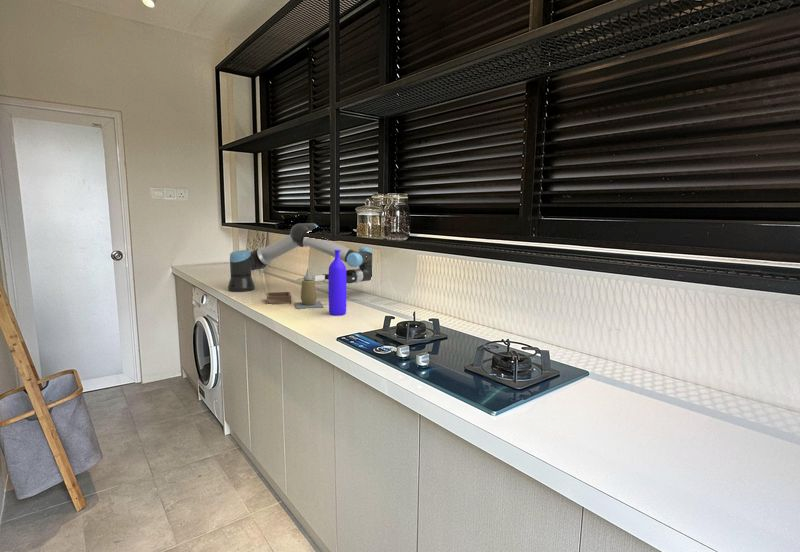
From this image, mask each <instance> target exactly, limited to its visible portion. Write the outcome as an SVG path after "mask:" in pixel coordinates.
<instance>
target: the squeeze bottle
mask: <svg viewBox="0 0 800 552" xmlns="http://www.w3.org/2000/svg"><path fill="white" fill-rule="evenodd" d="M300 300H301V302H302V303H303V305H314V304H315V301H317V289H316V281H314V275H313V276H312V274H311V270H310V269H309V268H307V269H306V272H305V275H304V276H303V280H302V281H301V287H300Z"/></svg>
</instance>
